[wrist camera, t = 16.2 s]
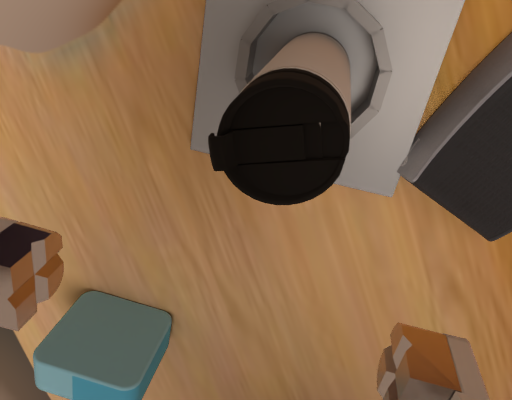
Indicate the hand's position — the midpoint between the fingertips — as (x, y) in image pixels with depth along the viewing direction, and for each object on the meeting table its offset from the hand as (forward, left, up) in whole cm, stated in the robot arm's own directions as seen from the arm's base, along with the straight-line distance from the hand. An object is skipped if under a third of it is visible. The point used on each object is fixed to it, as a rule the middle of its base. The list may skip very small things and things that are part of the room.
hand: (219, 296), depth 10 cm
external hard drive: (-1, -19, -32) cm, 37 cm away
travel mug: (0, 0, -31) cm, 31 cm away
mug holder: (0, 0, -31) cm, 31 cm away
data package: (-35, +16, -32) cm, 50 cm away
